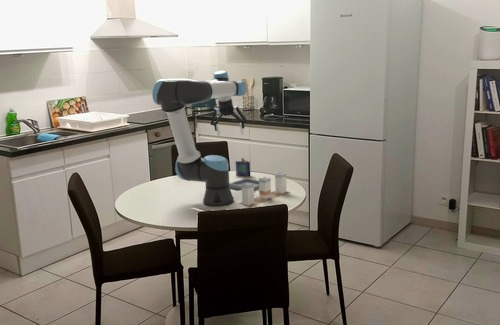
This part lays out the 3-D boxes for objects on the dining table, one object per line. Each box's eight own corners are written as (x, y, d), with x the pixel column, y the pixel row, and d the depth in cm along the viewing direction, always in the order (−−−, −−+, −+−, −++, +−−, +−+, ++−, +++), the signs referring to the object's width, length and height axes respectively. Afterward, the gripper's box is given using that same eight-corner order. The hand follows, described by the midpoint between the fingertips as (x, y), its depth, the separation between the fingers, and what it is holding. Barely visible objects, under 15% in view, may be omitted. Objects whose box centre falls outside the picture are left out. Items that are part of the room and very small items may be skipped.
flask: (235, 175, 301) (234, 158, 299) (237, 174, 304) (236, 157, 302) (249, 176, 298) (248, 159, 295) (251, 175, 300) (250, 158, 298)
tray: (249, 192, 266) (249, 188, 265) (228, 187, 277) (228, 183, 276) (267, 186, 275) (267, 182, 275) (246, 182, 286) (246, 177, 286)
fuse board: (250, 208, 241) (249, 206, 241) (238, 205, 246) (238, 203, 246) (290, 193, 261) (290, 192, 261) (279, 191, 267) (279, 189, 267)
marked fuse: (265, 199, 251) (264, 180, 249) (259, 198, 254) (258, 178, 251) (271, 197, 254) (270, 178, 251) (265, 196, 257) (264, 177, 254)
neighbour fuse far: (281, 193, 259) (281, 175, 257) (275, 192, 262) (274, 173, 260) (286, 192, 262) (286, 173, 260) (280, 190, 265) (280, 172, 263)
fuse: (248, 205, 243) (247, 185, 240) (242, 203, 246) (241, 184, 243) (254, 203, 246) (253, 183, 243) (248, 201, 248) (247, 182, 246)
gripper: (248, 94, 279) (253, 130, 288) (204, 99, 282) (210, 134, 292) (246, 99, 272) (251, 135, 281) (201, 103, 276) (208, 139, 285)
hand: (230, 134), depth 286 cm, fingers open, 13 cm apart
